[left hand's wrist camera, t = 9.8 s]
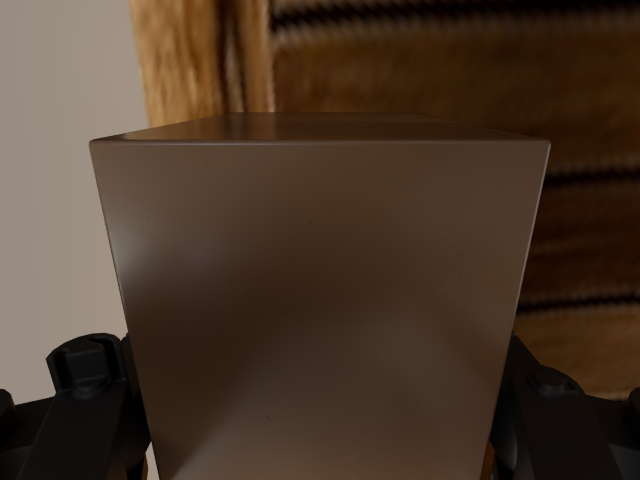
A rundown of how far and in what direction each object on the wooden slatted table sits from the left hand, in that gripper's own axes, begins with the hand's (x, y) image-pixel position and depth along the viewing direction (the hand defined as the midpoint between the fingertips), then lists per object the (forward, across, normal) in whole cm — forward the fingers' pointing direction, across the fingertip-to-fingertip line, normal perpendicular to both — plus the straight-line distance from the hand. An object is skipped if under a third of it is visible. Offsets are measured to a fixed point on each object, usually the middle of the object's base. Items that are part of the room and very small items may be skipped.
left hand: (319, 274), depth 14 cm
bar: (0, 0, -19) cm, 19 cm away
